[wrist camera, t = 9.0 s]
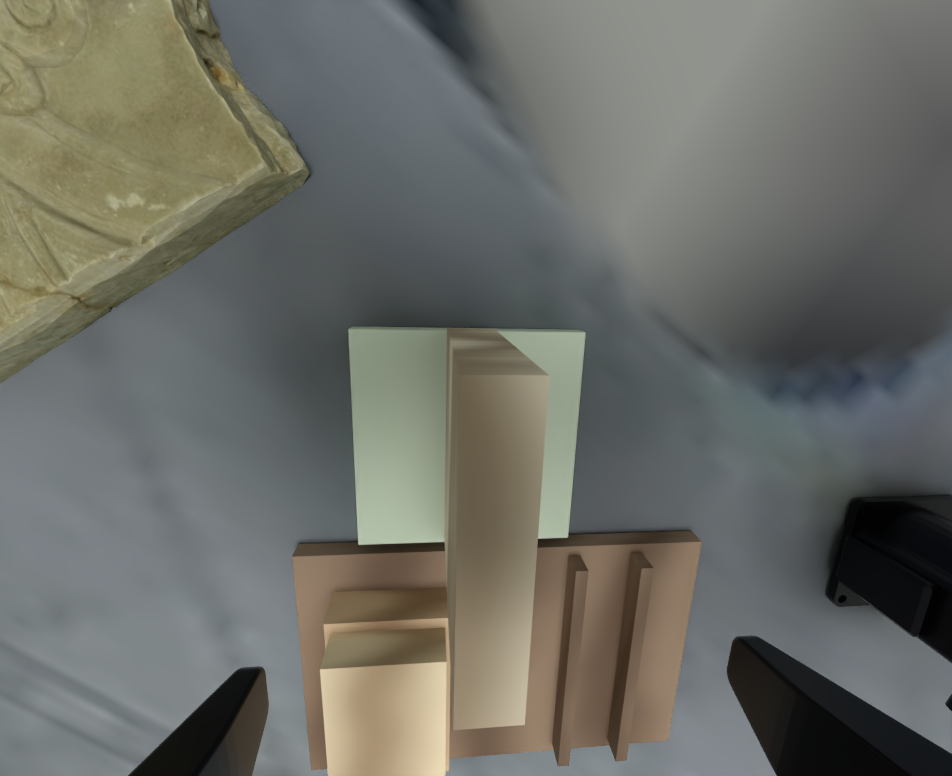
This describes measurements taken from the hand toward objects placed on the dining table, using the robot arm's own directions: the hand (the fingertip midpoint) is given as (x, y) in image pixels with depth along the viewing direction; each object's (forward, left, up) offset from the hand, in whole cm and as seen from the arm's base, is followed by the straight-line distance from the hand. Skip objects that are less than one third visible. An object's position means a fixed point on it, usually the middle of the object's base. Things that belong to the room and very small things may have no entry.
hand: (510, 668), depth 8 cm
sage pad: (0, 0, -13) cm, 13 cm away
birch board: (0, 0, -12) cm, 12 cm away
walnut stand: (-2, +12, -13) cm, 18 cm away
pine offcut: (+3, +12, -10) cm, 16 cm away
